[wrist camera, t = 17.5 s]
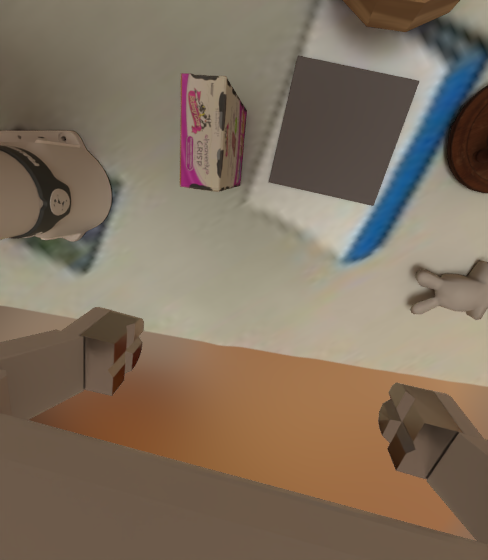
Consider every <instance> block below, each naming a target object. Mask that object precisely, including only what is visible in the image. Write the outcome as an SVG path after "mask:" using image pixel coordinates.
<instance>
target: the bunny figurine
mask: <svg viewBox="0 0 488 560" xmlns="http://www.w3.org/2000/svg"><path fill="white" fill-rule="evenodd" d="M416 279H417V281H418V283H419V285H421V286H423V287H427V288H431V289H434V290H435V297H434V298H431V299H428V300H424V301H421V302H418V303H416V304H414V305H412V307H411V309H410V310H411V313H413V314H422V313H425V312H427V311H429V310H431V309H433V308H435V307H437V306H441V307H444V308H447V309H450V310H453V311H461V312H463V311H466V314H467V315H469V316H471V317H472V318H474V319H475V320H479V319H481V318H482V316H483V314H484V313H485V311H486V309H487V308H488V262H485V261H479V262H478V263H477V264H476V266H475V267H474V268H473V269H472V271H471V272H470V273H469V274H468V276H463V275H459V274H442V276H441V277H439V276H437V275H435V274H433V273H432V272H430V271H428V270H424V269H421V270H419V271H418V272H417V274H416Z"/></svg>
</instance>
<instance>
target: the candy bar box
mask: <svg viewBox="0 0 488 560" xmlns="http://www.w3.org/2000/svg"><path fill="white" fill-rule="evenodd" d="M246 114H247V110H246V109H245V107H244V105H243V104H242V102H241V101H240V99H239V97H238V96H237V94H236V92H235V91H234V89H233V87H232V86H231V84H230V82H229V81H228V79H227V77H226V76H206V75H194V74H184V73H181V141H180V187H187V188H194V189H201V190H209V191H216V192H219V191H222V190H226V189H229V188H233V187H237V186H240V181H241V169H242V158H243V147H244V136H245V124H246Z"/></svg>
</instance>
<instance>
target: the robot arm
mask: <svg viewBox="0 0 488 560" xmlns="http://www.w3.org/2000/svg"><path fill="white" fill-rule="evenodd" d="M64 137H66V141H65V140H64ZM111 200H112V194H111V187H110V183H109V180H108V177H107V175H106V173H105V171H104V169H103V168H102V166H101V165H100V164H99V162H98V161H97V160H96V159H95V158H94V157H93V156H92V155H91V154H90V153H89V152H88V151H87V150H86V148H85V146H84V144H83V142H82V140H81V138H80V137H79V135H78V134H77V133H76V132H74V131H0V240H1V239H5V238H28V237H33V236H36V237H39V238H41V239H42V240H50V239H56V238H61V237H62V238H64V239H66V240H69V241H72V242H73V241H78V240H80V239H81V238H82V236H83V235H84V234H85V232H86V231H88V230H90V229H92V228H95V227H97V226H98V225H99V224H101V223H102V222H103V221H104V220H105V218H106V217H107V215H108V213H109V210H110V207H111ZM143 330H144V321H143V319H142V318H138V317H135V316H131V315H127V314H123V313H120V312H116V311H112V310H109V309H105V308H101V307H95V308H93V309H92V310H90V311H89V312H87V313H86V314H84V315H83V316H82V317H80V318H79V319H77V320H76V321H74V322H73V323H72V324H70V325H69V326H67V327H66V328H65V329H63V330H62V331H59V330H53V331H49V332H44V333H39V334H35V335H31V336H26V337H22V338H18V339H13V340H9V341H4V342H0V560H488V440H486V439H484V438H483V437H482V435H481V434H480V433H479V432H478V430H477V429H476V428H475V427H474V425H473V424H472V423H471V421H470V420H469V419H468V418H467V416H466V415H465V414H464V412H463V411H462V410H461V409H460V407H459V406H458V405H457V404H456V402H455V401H454V400H453V398H452V397H450V396H449V395H447V394H445V393H440V392H436V391H431V390H425V389H421V388H417V387H412V386H408V385H404V384H400V383H395V384H394V385H393V386H392V387H391V389H390V391H389V395H390V398H391V399H390V400H388V401H386V402H385V403H383V405H382V407H381V409H380V411H379V420H378V422H379V428H380V431H381V434H382V436H383V437H384V438H385V439H386V440H387V441H388V442H389V443H390V444H389V446H388V452H389V454H390V456H391V459H392V462H393V464H394V467H395V469H396V471H400V472H403V473H406V474H410V475H413V476H416V477H420V478H423V479H427V482H428V483H429V485H430V486H431V487H432V488H433V489H434V491H435V492H436V493H437V494H438V495H439V496H440V498H441V499H442V500H443V501H444V502H445V503H446V505H447V506H448V507H449V508H450V510H451V511H452V512H453V513H454V514H455V515H456V517H457V518H458V519H459V520H460V521H461V523H462V524H463V525H464V526H465V527H466V528H467V530H468V531H469V532H470V533H471V534H472V535H473V537H474V538H475V539H476V540H477V541H474V540H470V539H466V538H463V537H459V536H455V535H451V534H448V533H444V532H440V531H437V530H433V529H429V528H426V527H422V526H418V525H415V524H411V523H407V522H404V521H400V520H396V519H392V518H388V517H385V516H381V515H377V514H374V513H370V512H367V511H363V510H359V509H356V508H352V507H348V506H345V505H341V504H337V503H333V502H330V501H326V500H322V499H319V498H315V497H311V496H308V495H304V494H300V493H296V492H293V491H289V490H285V489H282V488H278V487H274V486H270V485H266V484H263V483H259V482H255V481H252V480H248V479H244V478H241V477H237V476H233V475H229V474H226V473H222V472H218V471H215V470H211V469H207V468H203V467H200V466H196V465H192V464H188V463H185V462H181V461H177V460H174V459H170V458H166V457H162V456H159V455H155V454H151V453H147V452H144V451H140V450H136V449H132V448H129V447H125V446H122V445H118V444H114V443H110V442H107V441H103V440H99V439H96V438H92V437H88V436H84V435H81V434H77V433H73V432H70V431H66V430H62V429H58V428H54V427H51V426H47V425H44V424H40V423H36V422H32V421H29V419H31V418H33V417H34V416H36V415H38V414H40V413H42V412H44V411H46V410H48V409H50V408H52V407H53V406H56V405H57V404H59V403H61V402H63V401H65V400H67V399H69V398H71V397H73V396H75V395H76V394H78V393H80V392H82V391H83V390H84V389H85V390H89V391H93V392H97V393H102V394H106V395H110V396H112V395H113V394H114V393H115V391H116V390H117V389H118V388H119V386H120V385H121V384H122V382H123V381H124V375H125V373H127V372H129V371H132V369H133V368H134V367H135V365H136V363H137V361H138V359H139V357H140V353H141V350H142V341H141V339H140V338H139V335H140V334H141V333H142V332H143Z"/></svg>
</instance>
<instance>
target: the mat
mask: <svg viewBox="0 0 488 560" xmlns="http://www.w3.org/2000/svg"><path fill="white" fill-rule="evenodd" d="M418 84H419V81H417V80H412V79H407V78H403V77H398V76H393V75H388V74H384V73H379V72H374V71H369V70H364V69H360V68H355V67H350V66H345V65H340V64H336V63H331V62H326V61H321V60H316V59H312V58H307V57H302V56H298V58H297V62H296V66H295V71H294V75H293V79H292V84H291V88H290V92H289V97H288V101H287V105H286V110H285V114H284V118H283V123H282V127H281V131H280V136H279V140H278V145H277V149H276V153H275V158H274V162H273V166H272V171H271V175H270V179H269V182H271V183H275V184H280V185H284V186H288V187H293V188H297V189H302V190H306V191H310V192H315V193H319V194H324V195H328V196H332V197H337V198H341V199H346V200H350V201H354V202H359V203H363V204H367V205H372V206H373V205H374V203H375V200H376V197H377V195H378V192H379V189H380V187H381V184H382V181H383V178H384V176H385V173H386V170H387V168H388V165H389V162H390V159H391V157H392V154H393V151H394V149H395V146H396V143H397V141H398V138H399V135H400V132H401V130H402V127H403V124H404V122H405V119H406V116H407V114H408V111H409V108H410V105H411V103H412V100H413V97H414V95H415V92H416V89H417V86H418Z"/></svg>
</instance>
